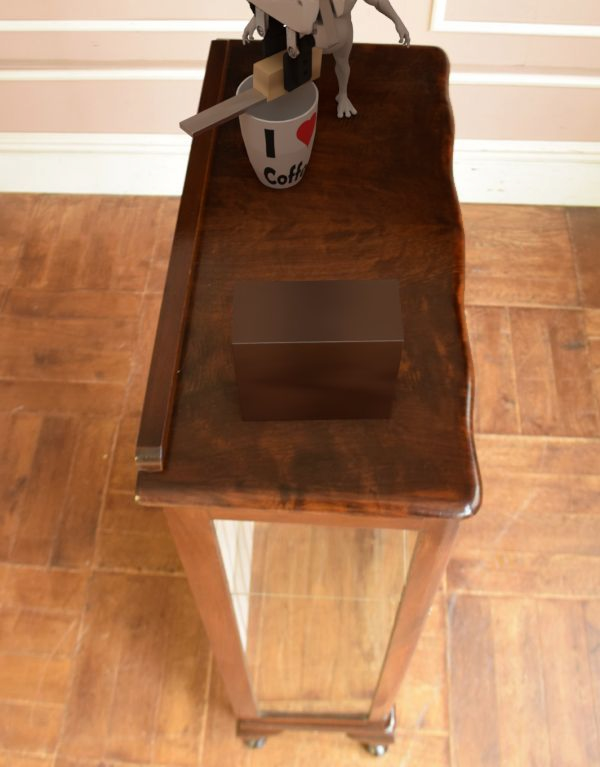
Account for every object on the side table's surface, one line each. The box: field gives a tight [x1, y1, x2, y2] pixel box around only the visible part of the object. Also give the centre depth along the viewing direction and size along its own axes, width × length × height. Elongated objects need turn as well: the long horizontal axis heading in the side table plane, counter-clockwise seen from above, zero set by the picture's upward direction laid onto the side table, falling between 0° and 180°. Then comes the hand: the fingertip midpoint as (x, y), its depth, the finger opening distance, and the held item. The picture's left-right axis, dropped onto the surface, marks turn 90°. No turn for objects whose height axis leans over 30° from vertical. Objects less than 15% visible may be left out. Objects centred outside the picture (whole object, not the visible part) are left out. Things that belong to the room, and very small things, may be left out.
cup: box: [235, 74, 319, 190], centre depth 80 cm, size 8×8×10 cm
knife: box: [178, 47, 323, 139], centre depth 73 cm, size 16×2×3 cm, turn 133°
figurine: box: [241, 0, 411, 119], centre depth 82 cm, size 18×7×18 cm, turn 88°
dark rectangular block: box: [230, 278, 405, 422], centre depth 65 cm, size 13×6×12 cm, turn 91°
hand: (287, 76), depth 75 cm, fingers closed on knife, 2 cm apart
